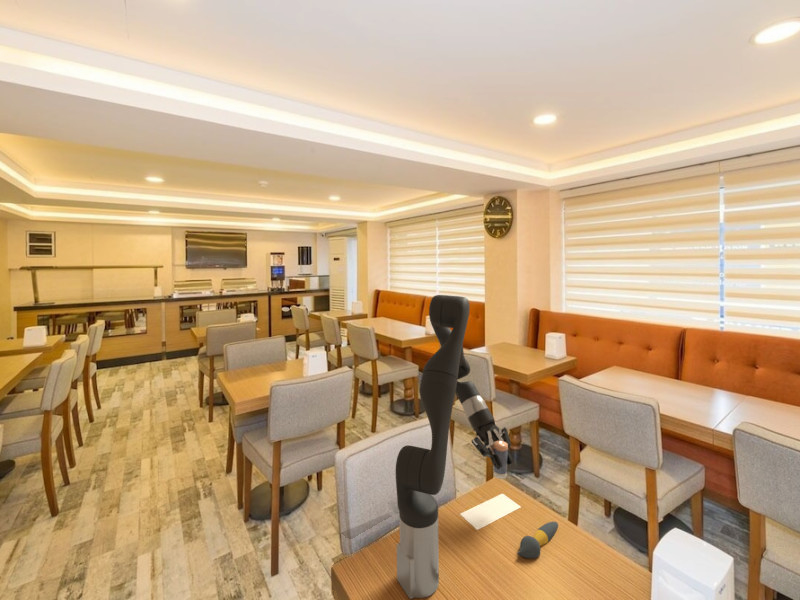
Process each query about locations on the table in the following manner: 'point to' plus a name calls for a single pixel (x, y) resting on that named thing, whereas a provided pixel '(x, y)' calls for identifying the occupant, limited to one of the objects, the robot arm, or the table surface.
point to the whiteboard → (490, 511)
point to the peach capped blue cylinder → (501, 459)
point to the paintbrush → (537, 540)
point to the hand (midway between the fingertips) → (505, 465)
